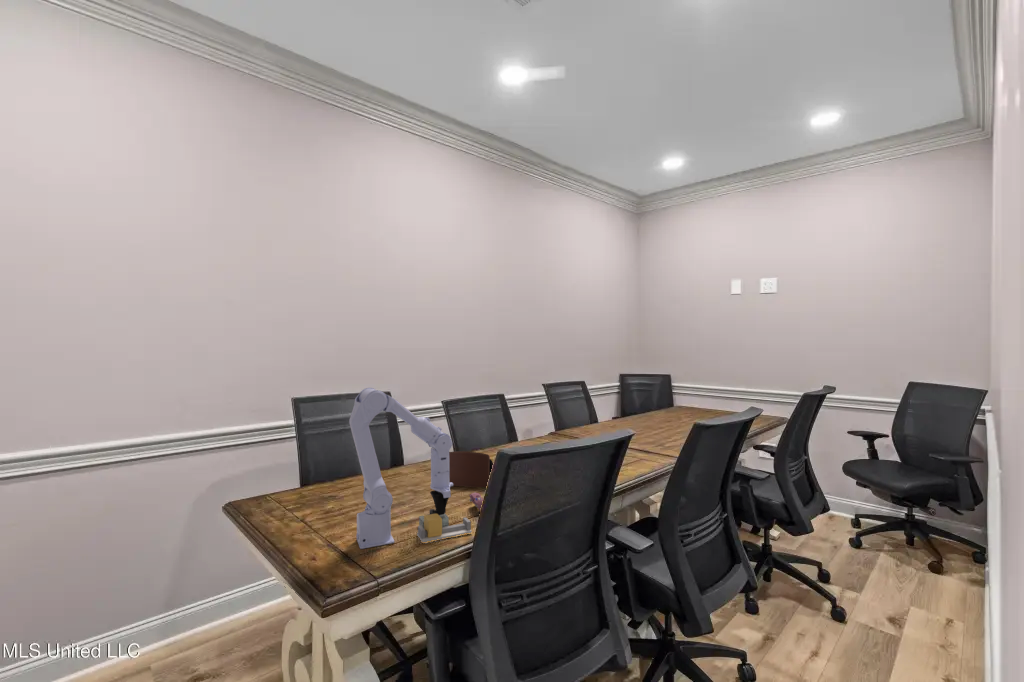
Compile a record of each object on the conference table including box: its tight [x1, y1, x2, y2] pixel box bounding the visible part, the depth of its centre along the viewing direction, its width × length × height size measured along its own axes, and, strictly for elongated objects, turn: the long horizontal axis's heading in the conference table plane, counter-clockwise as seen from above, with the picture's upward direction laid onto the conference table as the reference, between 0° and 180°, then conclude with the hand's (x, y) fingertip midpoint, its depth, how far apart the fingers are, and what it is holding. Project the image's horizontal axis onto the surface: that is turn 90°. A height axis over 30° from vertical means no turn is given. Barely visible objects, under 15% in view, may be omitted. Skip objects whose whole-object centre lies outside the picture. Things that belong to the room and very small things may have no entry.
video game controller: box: [468, 491, 484, 512], centre depth 161 cm, size 10×5×7 cm, turn 21°
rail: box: [416, 517, 473, 542], centre depth 140 cm, size 15×6×3 cm, turn 116°
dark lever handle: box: [429, 508, 447, 514], centre depth 147 cm, size 5×2×2 cm, turn 116°
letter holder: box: [449, 450, 494, 489], centre depth 191 cm, size 10×20×14 cm, turn 78°
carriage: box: [423, 513, 442, 537], centre depth 138 cm, size 4×5×5 cm
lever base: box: [418, 513, 450, 528], centre depth 146 cm, size 8×5×3 cm, turn 116°
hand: (440, 514), depth 146 cm, fingers closed
